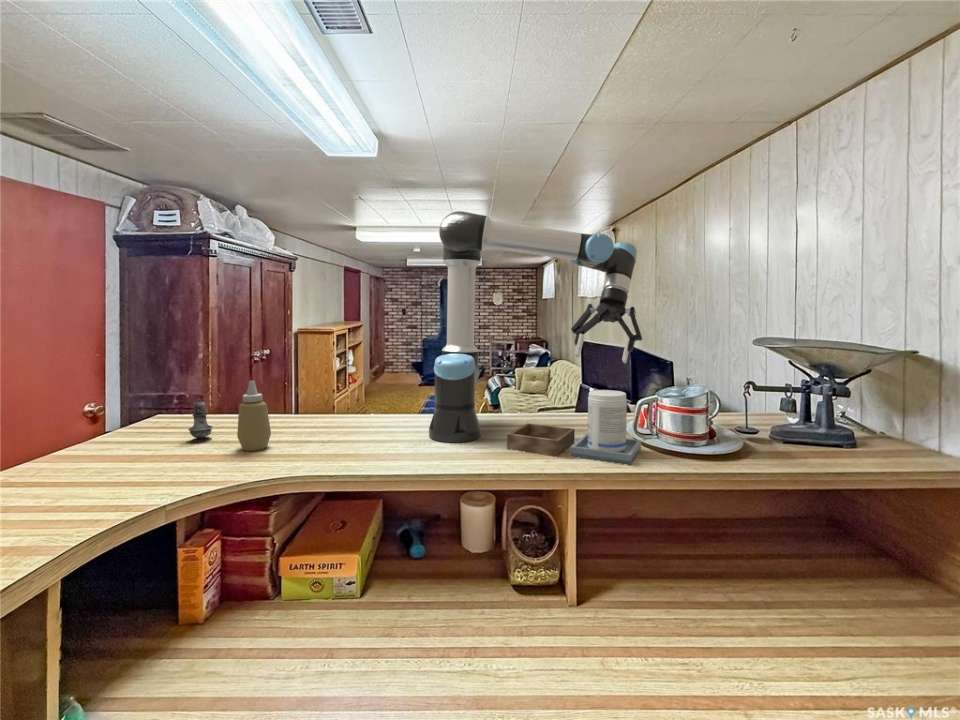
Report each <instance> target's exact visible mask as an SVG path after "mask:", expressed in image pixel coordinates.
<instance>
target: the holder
mask: <svg viewBox="0 0 960 720" xmlns="http://www.w3.org/2000/svg"><path fill="white" fill-rule="evenodd" d="M575 433H576V432H575V428H570V427H561V426H555V425H554V426H553V425H545V424H539V423H528V422H527V423H525V424H523V425H522V426H520V427H518V428H516V429H514V430H512V431H510V432H509V433H507V434H506V435H507V436H506V438H507V439H506V450H510V449H512V450H511V451H516V450H518V451H519V452H523V451H525V453H530V452H531V454H536V453H538V455H545V456H551V457H556V456H557V457H560V456H561V455H562V454H563V453H565V450H566V449H567V450H568V449H569V448H571V445H572V444H575V435H576V434H575ZM567 450H566V451H567ZM559 455H560V456H559ZM557 457H556V458H557Z"/></svg>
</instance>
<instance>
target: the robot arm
mask: <svg viewBox="0 0 960 720" xmlns="http://www.w3.org/2000/svg"><path fill="white" fill-rule="evenodd" d="M438 234H439V239H440V242H441V243H442V244H443V248H442V251H443V253H442V256H443V257H442V259H443V260H442V262H443V263H444V264H445V265H446V267H447V300H446V301H447V305H446V306H447V309H446V310H447V312H446V313H447V316H446V317H447V318H446V319H447V320H446V345H445V346H444V347H443V348H442V349H441V355H439V356H437V357H435V361H434V366H433V373H434V411H433V415H432V418H431V422H430V424H429V427H428V437H429V438H430V439H431V440H433V441H437V442H442V443H443V442H444V443H465V442H470V441H475V440H478V439H479V438H481V436H482V427H481V424H480V422H479V417H478V415H477V412H476V384H477V383H478V380H479V377H480V366H479V354H480V353H479V349H478V347H476V346H475V319H476V318H475V316H476V315H475V313H476V312H475V311H476V310H475V309H476V306H475V305H476V269H477V267H478V266H479V265H480V264H481V262H482V261H481V259H482V256H481V255H482V252H484V251H485V250H487V249H490V250H491V249H492V250H493V249H494V250H498V251H499V250H501V251H505V252H513V253H520V254H521V253H522V254H528V255H535V256H542V257H547V258H548V257H550V258H555V259H563V260H568V261H569V263H571V264H573V265H576V266H578V267H584V268H588V269H592V270H595V271H599V272H601V273H602V272H603V273H605V279H604V283H603V286H602V291H601V294H600V299H599V303H598V305H597V306H596V305H593V304H592V303H589V304H587V307H586V309H585V311H584V312H583V313H582V314H581V315H580V317H579V318H578V319H577V320H576V322H575V323H574V324H573V326H572V327H571V328H570V330H571V331H572V332H571V333H572V334H574V335H575V338H574V345H575V346H576V348H575V351H574V355H575V357H576V358H580V356H581V354H582V353H581V352H582V348H583V344H584V342H585V341H584V340H585V336H584V335H585V334H586V333H588V332H589V331H590V330H591V329H593V328H594V327H595V326H596V325H598V324H600V323H601V322H602V321H603V322H604V323H608V322H609V323H615V322H616V323H618V324H619V325H620V327H621V328H622V329H623V331H624V333H625V334H626V336H627V337H628V338H625V343H624V344H625V345H624V349H623V352H622V358H621V361H622V362H623V364H627V361H628V357H629V353H632V352H633V351H634V346H635V342H636V341H642V340H643V336H642V333H641V331H640V327H639V324H638V322H637V318H636V315H637V314H636V313H637V312H636V309H635V307H634V306H630V307H629V308H626V306H627V305H626V304H627V301H628V295H629V293H630V292H629V291H630V288H631V282H632V276H633V273H634V269H635V264H636V263H637V260H636V259H637V254H638V252H637V248H636V247H635V246H634V245H633V244H632V243H630V242H627V241H625V242H621V241H620V242H616V243H615V244H614V242H613V239H612V238H611V237H610V236H609V235H607V234H605V233H594V234H590V233H581V232H577V231H576V232H575V231H570V230H569V231H568V230H562V229H555V228H547V227H543V226H542V227H541V226H532V225H528V224H527V225H526V224H519V223H513V222H506V221H505V222H504V221H499V220H493V219H491V218H490V217H489V215H484V214H478V213H472V212H468V211H462V210H461V211H454V212H451V213H449V214H447V215H445V217H444V218H443V219H442V221H441V222H440V225H439V231H438ZM595 312H597V313H595ZM592 314H595V315H594V316H593V317H591V316H592ZM626 314H627V315H628V317H630V320H631V324H632V326H633V329H634V332H635V334H633V333H632V330H631V329H630V328H629V326H628V325H627V323H626V321H624V319H623V316H624V315H626ZM590 317H591V319H590ZM589 319H590V320H589Z"/></svg>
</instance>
